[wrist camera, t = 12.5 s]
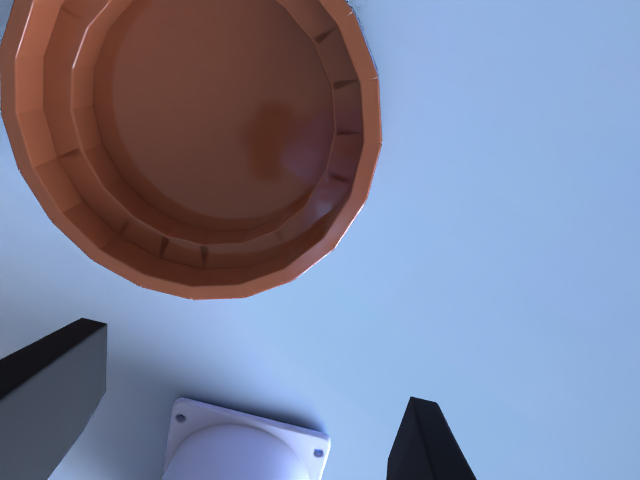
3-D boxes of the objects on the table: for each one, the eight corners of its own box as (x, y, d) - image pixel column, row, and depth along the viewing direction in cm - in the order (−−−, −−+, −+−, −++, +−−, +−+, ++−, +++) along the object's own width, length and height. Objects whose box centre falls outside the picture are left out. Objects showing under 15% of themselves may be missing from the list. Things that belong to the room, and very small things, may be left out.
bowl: (337, 292, 22) (330, 334, 19) (56, 222, 23) (3, 253, 19) (422, -28, 17) (432, -43, 14) (63, -114, 18) (-7, -148, 14)
